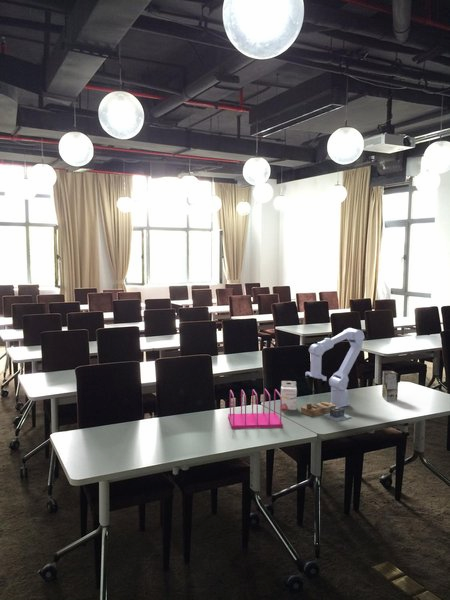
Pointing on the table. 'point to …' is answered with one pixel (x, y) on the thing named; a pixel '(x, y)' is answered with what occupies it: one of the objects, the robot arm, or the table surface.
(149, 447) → the table surface
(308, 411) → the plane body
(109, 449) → the table surface
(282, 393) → the ink cartridge box
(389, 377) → the coffee box
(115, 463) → the table surface
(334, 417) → the rubber mat
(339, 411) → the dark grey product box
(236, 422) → the file sorter
